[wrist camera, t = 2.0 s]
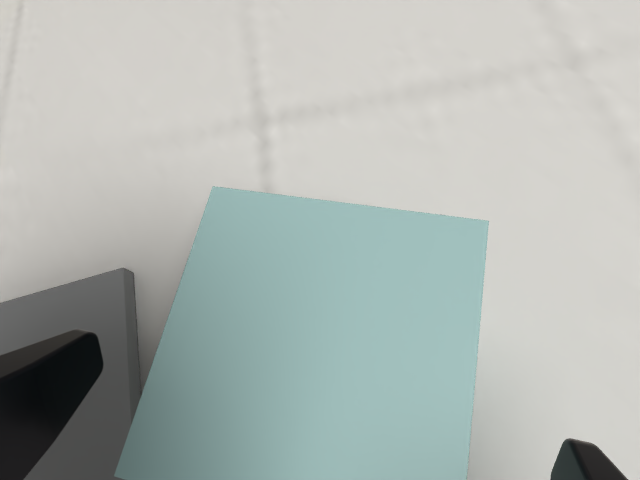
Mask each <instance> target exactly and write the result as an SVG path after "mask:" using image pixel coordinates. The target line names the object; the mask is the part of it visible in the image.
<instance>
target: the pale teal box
mask: <svg viewBox="0 0 640 480" xmlns="http://www.w3.org/2000/svg"><path fill="white" fill-rule="evenodd" d="M488 225H489V221H485V220H478V219H470V218H462V217H454V216H446V215H438V214H430V213H422V212H414V211H406V210H398V209H390V208H382V207H374V206H366V205H358V204H350V203H342V202H334V201H326V200H318V199H310V198H302V197H294V196H286V195H278V194H270V193H262V192H254V191H246V190H238V189H230V188H223V187H215V186H213V187H212V190H211V193H210V196H209V199H208V202H207V205H206V208H205V211H204V214H203V217H202V219H201V222H200V225H199V228H198V231H197V234H196V237H195V240H194V243H193V246H192V249H191V252H190V255H189V258H188V260H187V263H186V266H185V269H184V272H183V275H182V278H181V281H180V284H179V287H178V290H177V293H176V296H175V299H174V301H173V304H172V307H171V310H170V313H169V316H168V319H167V322H166V325H165V328H164V331H163V334H162V337H161V340H160V342H159V345H158V348H157V351H156V354H155V357H154V360H153V363H152V366H151V369H150V372H149V375H148V378H147V381H146V384H145V386H144V389H143V392H142V395H141V398H140V401H139V404H138V407H137V410H136V413H135V416H134V419H133V422H132V425H131V427H130V430H129V433H128V436H127V439H126V442H125V445H124V448H123V451H122V454H121V457H120V460H119V463H118V466H117V468H116V471H115V474H114V476H115V477H118V478H122V479H125V480H467V470H468V458H469V447H470V435H471V423H472V412H473V400H474V388H475V377H476V365H477V353H478V342H479V330H480V318H481V306H482V295H483V283H484V271H485V260H486V248H487V236H488Z"/></svg>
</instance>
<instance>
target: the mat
mask: <svg viewBox="0 0 640 480" xmlns="http://www.w3.org/2000/svg"><path fill="white" fill-rule="evenodd" d="M74 329H82V330H87V331H91V332H94V333H96V335H97V336H98V338H99V343H100V347H101V352H102V357H103V361H104V367H103V370H102V373H101V375H100V376H99V378H98V379H97V381H96V382H95V384H94V385H93V387H92V388H91V390H90V391H89V392H88V394H87V395H86V397H85V398H84V400H83V401H82V403H81V404H80V406H79V407H78V409H77V410H76V411H75V413H74V414H73V416H72V417H71V419H70V420H69V422H68V423H67V425H66V426H65V428H64V429H63V430H62V432H61V433H60V435H59V436H58V437H57V439H56V440H55V442H54V443H53V444H52V445H51V447H50V448H49V449H48V450H47V452H46V453H45V454H44V455H43V457H42V458H41V459H40V460H39V462H38V463H37V464H36V465H35V466H34V468H33V469H32V470H31V471H30V473H29V474H28V475H27V476H26V478H25V479H24V480H125V479H122V478H118V477H115V476H114V474H115V471H116V468H117V466H118V463H119V460H120V457H121V454H122V451H123V448H124V445H125V442H126V439H127V436H128V433H129V430H130V427H131V425H132V422H133V419H134V416H135V413H136V410H137V407H138V404H139V401H140V398H141V392H140V375H139V358H138V342H137V325H136V309H135V292H134V275H133V273H132V272H130V271H129V270H127V269H125V268H120V269H117V270H113V271H110V272H106V273H103V274H99V275H96V276H92V277H89V278H86V279H82V280H79V281H75V282H72V283H68V284H65V285H61V286H58V287H54V288H51V289H48V290H44V291H41V292H37V293H34V294H30V295H27V296H23V297H20V298H16V299H13V300H9V301H6V302H3V303H0V355H2V354H5V353H8V352H11V351H14V350H17V349H19V348H22V347H25V346H28V345H31V344H34V343H37V342H39V341H42V340H45V339H48V338H51V337H54V336H57V335H59V334H62V333H65V332H68V331H71V330H74Z"/></svg>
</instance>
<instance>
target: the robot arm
mask: <svg viewBox="0 0 640 480" xmlns="http://www.w3.org/2000/svg"><path fill="white" fill-rule="evenodd" d="M103 367H104V361H103V357H102V352H101V347H100V343H99V338H98V336H97V335H96V333H94V332H91V331H87V330H82V329H74V330H71V331H68V332H65V333H62V334H59V335H57V336H54V337H51V338H48V339H45V340H42V341H39V342H37V343H34V344H31V345H28V346H25V347H22V348H19V349H17V350H14V351H11V352H8V353H5V354H2V355H0V480H24V479H25V478H26V476H27V475H28V474H29V473H30V471H31V470H32V469H33V468H34V466H35V465H36V464H37V463H38V462H39V460H40V459H41V458H42V457H43V455H44V454H45V453H46V452H47V450H48V449H49V448H50V447H51V445H52V444H53V443H54V442H55V440H56V439H57V437H58V436H59V435H60V433H61V432H62V430H63V429H64V428H65V426H66V425H67V423H68V422H69V420H70V419H71V417H72V416H73V414H74V413H75V411H76V410H77V409H78V407H79V406H80V404H81V403H82V401H83V400H84V398H85V397H86V395H87V394H88V392H89V391H90V390H91V388H92V387H93V385H94V384H95V382H96V381H97V379H98V378H99V376H100V375H101V373H102V370H103ZM551 480H628V479H627V478H626V477H625V476H624V475H623V474H622V473H621V471H620V470H619V469H618V468H617V467H616V466H615V465H614V464H613V463H612V462H611V461H610V460H609V459H608V457H607V456H606V455H605V454H604V453H603V452H602V451H601V450H600V449H599V448H598V447H597V446H596V445H594V444H592V443H589V442H584V441H580V440H575V439H571V438H570V439H566V440H565V441H564V442H563V444H562V446H561V449H560V451H559V454H558V456H557V459H556V461H555V464H554V467H553V469H552V472H551Z"/></svg>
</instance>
